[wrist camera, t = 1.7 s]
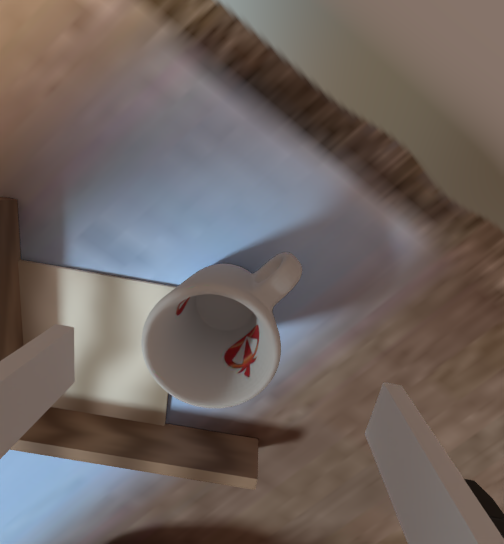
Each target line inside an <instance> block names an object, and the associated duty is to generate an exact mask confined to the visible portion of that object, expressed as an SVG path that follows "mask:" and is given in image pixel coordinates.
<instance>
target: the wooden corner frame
mask: <svg viewBox="0 0 504 544" xmlns="http://www.w3.org/2000/svg"><path fill="white" fill-rule="evenodd" d="M175 288H176V286H170V285H164V284H158V283H153V282H147V281H141V280H135V279H130V278H124V277H118V276H112V275H107V274H101V273H95V272H90V271H84V270H78V269H72V268H67V267H61V266H55V265H49V264H44V263H38V262H32V261H26V260H21V253H20V237H19V221H18V204H17V199H12V198H7V197H0V361H1V360H3V359H4V358H6V357H7V356H9V355H10V354H12V353H13V352H15V351H16V350H18V349H19V348H21V347H22V346H24V345H25V344H27V343H28V342H30V341H31V340H33V339H34V338H36V337H37V336H39V335H40V334H42V333H43V332H45V331H46V330H48V329H49V328H51V327H52V326H54V325H55V324H58V325H64V326H70V327H74V371H75V382H74V383H73V384H72V385H71V386H70V388H69V389H68V390H67V391H66V392H65V393H64V394H63V395H62V396H61V397H60V398H59V399H58V400H57V401H56V402H55V403H54V404H53V405H52V406H51V407H50V408H49V409H48V410H47V411H46V412H45V413H44V414H43V415H42V416H41V417H40V418H39V419H38V421H37V422H36V423H35V424H34V425H33V426H32V427H31V428H30V429H29V430H28V431H27V432H26V433H25V434H24V435H23V436H22V437H21V438H20V439H19V440H18V441H17V442H16V443H15V444H14V445H13V446H12V447H11V448H10V450H16V451H22V452H28V453H34V454H41V455H47V456H53V457H59V458H65V459H71V460H77V461H83V462H89V463H95V464H101V465H107V466H114V467H120V468H126V469H132V470H138V471H144V472H150V473H156V474H162V475H168V476H174V477H180V478H187V479H193V480H199V481H205V482H211V483H217V484H223V485H229V486H235V487H241V488H247V489H253V490H255V488H256V483H257V479H258V439H256V438H250V437H244V436H238V435H232V434H226V433H220V432H214V431H208V430H202V429H196V428H190V427H184V426H178V425H172V424H166V423H165V422H166V412H167V403H168V392H166V391H165V390H164V389H163V388H162V387H161V386H160V385H159V384H158V383H157V382H156V381H155V379H154V378H153V377H152V375H151V374H150V372H149V370H148V368H147V366H146V364H145V361H144V358H143V353H142V346H141V339H142V332H143V327H144V324H145V322H146V319H147V317H148V315H149V313H150V312H151V310H152V309H153V308H154V306H155V305H156V304H157V303H158V302H159V301H160V300H161V299H162V298H163V297H164V296H166V295H167V294H168V293H169V292H171V291H172V290H173V289H175Z"/></svg>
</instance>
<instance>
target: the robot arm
mask: <svg viewBox="0 0 504 544" xmlns="http://www.w3.org/2000/svg"><path fill="white" fill-rule="evenodd" d="M74 382H75V371H74V327H70V326H64V325H58V324H55V325H54V326H52V327H51V328H49V329H48V330H46V331H45V332H43V333H42V334H40V335H39V336H37V337H36V338H34V339H33V340H31V341H30V342H28V343H27V344H25V345H24V346H22V347H21V348H19V349H18V350H16V351H15V352H13V353H12V354H10V355H9V356H7V357H6V358H4V359H3V360H1V361H0V459H1V458H2V457H3V456H4V455H5V454H6V452H7V451H8V450H9V449H10V448H11V447H12V446H13V445H14V444H15V443H16V442H17V441H18V440H19V439H20V438H21V437H22V436H23V435H24V434H25V433H26V432H27V431H28V430H29V429H30V428H31V427H32V426H33V425H34V424H35V423H36V422H37V421H38V419H39V418H40V417H41V416H42V415H43V414H44V413H45V412H46V411H47V410H48V409H49V408H50V407H51V406H52V405H53V404H54V403H55V402H56V401H57V400H58V399H59V398H60V397H61V396H62V395H63V394H64V393H65V392H66V391H67V390H68V389H69V388H70V386H71V385H72V384H73V383H74ZM365 435H366V438H367V441H368V443H369V446H370V448H371V451H372V453H373V456H374V458H375V461H376V463H377V466H378V469H379V471H380V474H381V476H382V479H383V481H384V484H385V486H386V489H387V491H388V494H389V497H390V499H391V502H392V504H393V507H394V509H395V512H396V514H397V517H398V519H399V522H400V525H401V527H402V530H403V532H404V535H405V537H406V540H407V542H408V544H504V514H503V512H502V511H501V510H500V508H499V507H498V505H497V504H496V503H495V501H494V500H493V499H492V498H491V497H490V496H489V495H488V494H487V493H486V492H485V491H484V490H483V489H482V488H481V487H480V486H479V485H478V484H477V483H476V482H475V481H473V480H467V479H464V478H463V477H462V476H461V474H460V473H459V471H458V470H457V468H456V467H455V465H454V464H453V462H452V461H451V459H450V458H449V456H448V455H447V453H446V452H445V450H444V449H443V447H442V446H441V444H440V443H439V441H438V440H437V438H436V437H435V435H434V434H433V432H432V431H431V429H430V428H429V426H428V425H427V423H426V422H425V420H424V419H423V417H422V416H421V414H420V413H419V411H418V410H417V408H416V407H415V405H414V404H413V402H412V401H411V399H410V398H409V396H408V395H407V393H406V392H405V390H404V389H403V387H402V386H401V385H396V384H390V383H384V382H383V385H382V388H381V390H380V393H379V396H378V399H377V401H376V404H375V407H374V410H373V413H372V415H371V418H370V421H369V424H368V426H367V429H366V432H365Z"/></svg>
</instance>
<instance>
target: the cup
mask: <svg viewBox="0 0 504 544" xmlns="http://www.w3.org/2000/svg"><path fill="white" fill-rule="evenodd" d="M301 274H302V266H301V264H300V262H299V261H298V260H297V258H296V257H295V256H294V255H293V254H291V253H289V252H283V253H280V254H278V255H276V256H275V257H273V258H272V259H271V260H269V261H268V262H267V263H266V264H265V265H264V266H262V267H261V268H260V269H259V270H258V271H256V272H255V273H250V272H249V271H248V270H246V269H244V268H242V267H239V266H237V265H232V264H215V265H211V266H208V267H205V268H203V269H201V270H199V271H198V272H196V273H195V274H193V275H192V276H191V277H189V278H188V279H187V280H185V281H184V282H183V283H181V284H180V285H179V286H177V287H176V288H175V289H173V290H172V291H171V292H169V293H168V294H167V295H166V296H164V297H163V298H162V299H161V300H160V301H159V302H158V303H157V304H156V305H155V306H154V308H153V309H152V310H151V312H150V313H149V315H148V317H147V319H146V322H145V324H144V327H143V332H142V339H141V346H142V353H143V358H144V361H145V364H146V366H147V368H148V370H149V372H150V374H151V375H152V377H153V378H154V379H155V381H156V382H157V383H158V384H159V385H160V386H161V387H162V388H163V389H164V390H165V391H166V392H168V393H169V394H170V395H172V396H173V397H175V398H177V399H179V400H181V401H183V402H185V403H188V404H191V405H194V406H198V407H204V408H226V407H232V406H236V405H239V404H241V403H244V402H246V401H248V400H250V399H252V398H253V397H255V396H256V395H258V394H259V393H260V392H261V391H262V390H263V389H264V388H265V387H266V386H267V385H268V384H269V383H270V381H271V380H272V378H273V377H274V375H275V373H276V370H277V368H278V365H279V361H280V355H281V342H280V336H279V331H278V328H277V325H276V322H275V319H274V316H273V313H272V310H273V307H274V306H275V305H276V304H277V303H278V302H279V301H280V300H281V299H282V298H283V297H285V296H286V295H287V294H288V293H289V292H290V291H291V290H292V289H293V287H294V286H295V285H296V284H297V283H298V281H299V279H300V277H301Z"/></svg>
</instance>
